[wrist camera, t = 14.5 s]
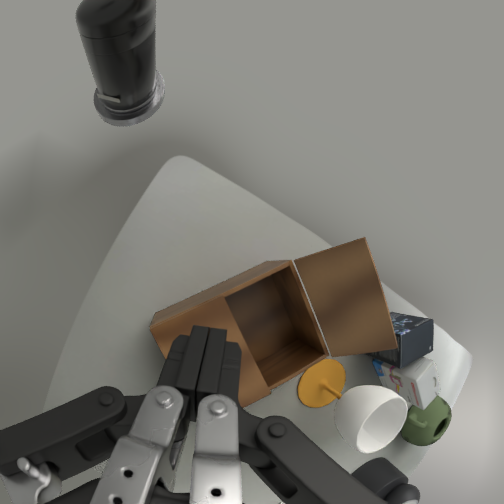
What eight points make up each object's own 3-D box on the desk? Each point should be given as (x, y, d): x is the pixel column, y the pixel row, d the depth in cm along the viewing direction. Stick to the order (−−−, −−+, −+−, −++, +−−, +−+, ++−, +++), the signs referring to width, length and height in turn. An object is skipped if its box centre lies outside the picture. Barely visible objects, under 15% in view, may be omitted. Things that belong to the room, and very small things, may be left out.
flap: (364, 237, 25) (365, 236, 25) (293, 260, 30) (295, 259, 30) (397, 348, 26) (398, 346, 26) (331, 357, 31) (332, 355, 31)
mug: (440, 394, 50) (464, 404, 42) (416, 439, 48) (438, 451, 40) (409, 385, 46) (437, 398, 38) (380, 437, 44) (405, 454, 36)
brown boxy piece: (155, 313, 35) (148, 328, 26) (267, 260, 39) (294, 259, 30) (198, 391, 36) (206, 425, 27) (300, 339, 40) (332, 357, 31)
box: (391, 311, 45) (434, 318, 35) (391, 339, 45) (433, 352, 35) (358, 322, 43) (401, 334, 33) (359, 353, 43) (401, 370, 33)
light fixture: (382, 515, 26) (436, 478, 30) (340, 474, 42) (391, 448, 45) (370, 542, 26) (420, 511, 30) (336, 505, 41) (383, 482, 45)
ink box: (370, 361, 43) (416, 380, 32) (388, 343, 45) (435, 358, 33) (383, 390, 44) (425, 411, 33) (399, 373, 46) (442, 390, 34)
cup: (339, 349, 42) (408, 380, 26) (349, 391, 42) (410, 429, 27) (291, 373, 39) (348, 421, 24) (304, 415, 40) (357, 467, 24)
